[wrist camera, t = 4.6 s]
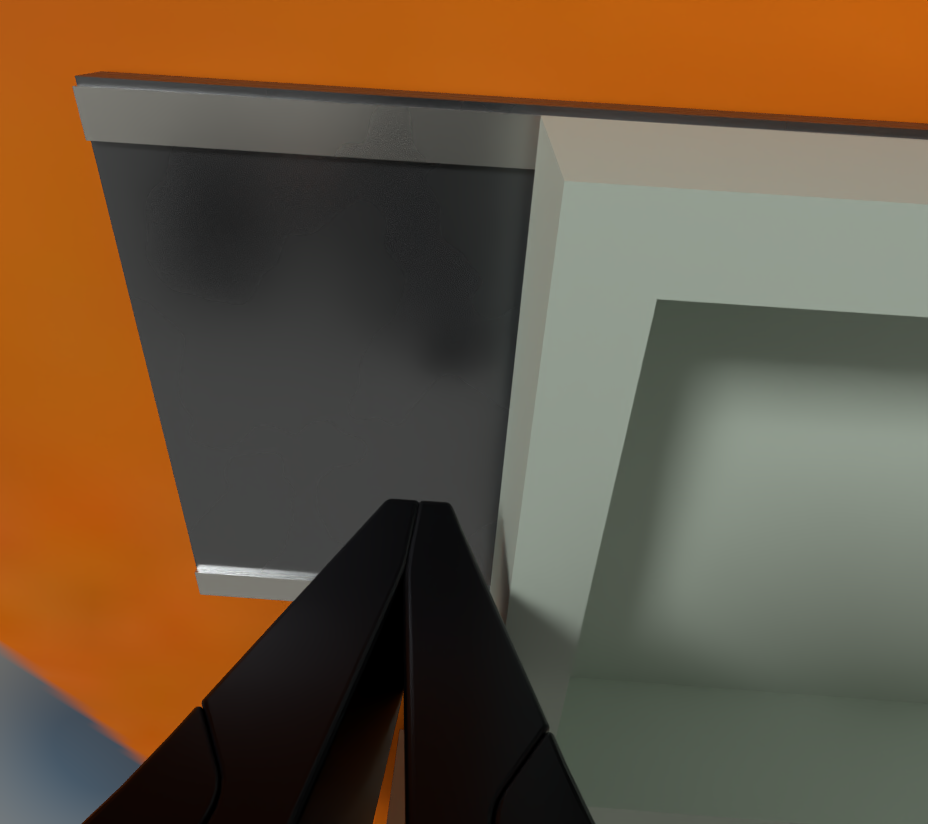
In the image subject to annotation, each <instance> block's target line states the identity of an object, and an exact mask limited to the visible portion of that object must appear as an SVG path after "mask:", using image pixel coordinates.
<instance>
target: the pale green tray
mask: <svg viewBox="0 0 928 824" xmlns="http://www.w3.org/2000/svg"><path fill="white" fill-rule="evenodd" d="M490 592H491V595H492V597H493V599H494V601H495V604H496V606H497V608H498V610H499V613H500V615H501V617H502V619H503V622H504V624H505V626H506V628H507V631H508V633H509V635H510V638H511V640H512V642H513V644H514V647H515V649H516V651H517V653H518V656H519V658H520V660H521V662H522V665H523V667H524V669H525V671H526V674H527V676H528V678H529V680H530V683H531V685H532V687H533V689H534V692H535V694H536V696H537V698H538V701H539V703H540V705H541V707H542V710H543V712H544V714H545V717H546V719H547V721H548V723H549V726H550V729H549V732H551V733H553V734H554V736H555V738H556V740H557V743H558V745H559V747H560V749H561V752H562V754H563V756H564V758H565V761H566V763H567V765H568V767H569V770H570V772H571V774H572V776H573V778H574V780H575V782H576V784H577V786H578V788H579V790H580V793H581V795H582V797H583V799H584V801H585V803H586V805H587V807H588V809H589V811H590V813H591V815H592V817H593V820H594V822H595V824H928V140H920V139H904V138H888V137H873V136H857V135H841V134H826V133H810V132H794V131H778V130H763V129H747V128H731V127H716V126H700V125H684V124H668V123H653V122H637V121H621V120H606V119H590V118H574V117H559V116H543V115H541V119H540V128H539V138H538V147H537V156H536V166H535V175H534V184H533V194H532V203H531V212H530V222H529V231H528V240H527V250H526V259H525V268H524V278H523V287H522V296H521V306H520V315H519V324H518V334H517V343H516V352H515V362H514V371H513V380H512V390H511V399H510V408H509V418H508V427H507V436H506V446H505V455H504V464H503V474H502V483H501V492H500V502H499V511H498V520H497V530H496V539H495V548H494V558H493V567H492V576H491V586H490Z"/></svg>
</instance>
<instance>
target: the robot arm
mask: <svg viewBox="0 0 928 824" xmlns="http://www.w3.org/2000/svg"><path fill="white" fill-rule="evenodd" d="M403 691H404V784H405V824H595V822H594V820H593V817H592V815H591V813H590V811H589V809H588V807H587V805H586V803H585V801H584V799H583V797H582V795H581V793H580V790H579V788H578V786H577V784H576V782H575V780H574V778H573V776H572V774H571V772H570V770H569V767H568V765H567V763H566V761H565V758H564V756H563V754H562V752H561V749H560V747H559V745H558V743H557V740H556V738H555V736H554V734H553V733H551V732H549V729H550V726H549V723H548V721H547V719H546V717H545V714H544V712H543V710H542V707H541V705H540V703H539V701H538V698H537V696H536V694H535V692H534V689H533V687H532V685H531V683H530V680H529V678H528V676H527V674H526V671H525V669H524V667H523V665H522V662H521V660H520V658H519V656H518V653H517V651H516V649H515V647H514V644H513V642H512V640H511V638H510V635H509V633H508V631H507V628H506V626H505V624H504V622H503V619H502V617H501V615H500V613H499V610H498V608H497V606H496V604H495V601H494V599H493V597H492V595H491V592H490V590H489V588H488V586H487V583H486V581H485V579H484V577H483V574H482V572H481V570H480V568H479V565H478V563H477V561H476V558H475V556H474V554H473V552H472V549H471V547H470V545H469V543H468V540H467V538H466V536H465V534H464V531H463V529H462V527H461V525H460V522H459V520H458V518H457V516H456V513H455V511H454V509H453V507H452V505H451V504H450V503H448V502H438V501H421V502H418V501H417V500H408V499H393V498H392V499H388V500H386V501H385V502H384V503H383V504H382V505H381V506H380V507H379V508H378V509H377V510H376V512H375V513H374V514H373V515H372V516H371V517H370V518H369V519H368V520H367V521H366V522H365V524H364V525H363V526H362V527H361V528H360V529H359V530H358V531H357V532H356V533H355V534H354V536H353V537H352V538H351V539H350V540H349V541H348V542H347V543H346V544H345V545H344V546H343V548H342V549H341V550H340V551H339V552H338V553H337V554H336V555H335V556H334V557H333V558H332V560H331V561H330V562H329V563H328V564H327V565H326V566H325V567H324V568H323V569H322V570H321V572H320V573H319V574H318V575H317V576H316V577H315V578H314V579H313V580H312V581H311V582H310V584H309V585H308V586H307V587H306V588H305V589H304V590H303V591H302V592H301V593H300V594H299V596H298V597H297V598H296V599H295V600H294V601H293V602H292V603H291V604H290V605H289V606H288V608H287V609H286V610H285V611H284V612H283V613H282V614H281V615H280V616H279V617H278V618H277V620H276V621H275V622H274V623H273V624H272V625H271V626H270V627H269V628H268V629H267V630H266V632H265V633H264V634H263V635H262V636H261V637H260V638H259V639H258V640H257V641H256V642H255V644H254V645H253V646H252V647H251V648H250V649H249V650H248V651H247V652H246V653H245V654H244V656H243V657H242V658H241V659H240V660H239V661H238V662H237V663H236V664H235V665H234V666H233V668H232V669H231V670H230V671H229V672H228V673H227V674H226V675H225V676H224V677H223V678H222V680H221V681H220V682H219V683H218V684H217V685H216V686H215V687H214V688H213V689H212V690H211V692H210V693H209V694H208V695H207V696H206V697H205V698H204V699H203V701H202V707H203V709H202V707H196V708H194V709H193V711H192V712H191V713H190V714H189V715H188V716H187V717H186V718H185V719H184V720H183V722H182V723H181V724H180V725H179V726H178V727H177V728H176V729H175V730H174V731H173V733H172V734H171V735H170V736H169V737H168V738H167V739H166V740H165V741H164V742H163V743H162V744H161V745H160V746H159V747H158V748H157V749H156V750H155V751H154V753H153V754H152V755H151V756H150V757H149V758H148V759H147V760H146V761H145V762H144V763H143V764H142V765H141V766H140V767H139V768H138V769H137V770H136V771H135V772H134V773H133V774H132V775H131V776H130V778H129V779H128V780H127V781H126V782H125V783H124V784H123V785H122V786H121V787H120V788H119V789H118V790H116V791H115V792H114V793H113V794H112V795H111V796H110V797H109V798H108V799H107V800H106V801H105V802H104V803H103V804H102V805H101V806H100V807H99V808H98V809H97V810H95V811H94V812H93V813H92V814H91V815H90V816H89V817H88V818H87V819H86V820H85V821H84V822H83V823H82V824H373V819H374V815H375V811H376V807H377V802H378V798H379V794H380V790H381V785H382V781H383V777H384V773H385V768H386V764H387V760H388V756H389V751H390V747H391V743H392V739H393V734H394V730H395V726H396V722H397V717H398V713H399V709H400V705H401V700H402V696H403Z"/></svg>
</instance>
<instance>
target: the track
mask: <svg viewBox="0 0 928 824" xmlns="http://www.w3.org/2000/svg"><path fill="white" fill-rule="evenodd" d="M75 78H76V82H77V85H76V86H73V90H74V94H75V98H76V102H77V106H78V110H79V114H80V118H81V122H82V126H83V130H84V134H85V138H86V140H88V141H91V143H92V147H93V151H94V155H95V159H96V163H97V167H98V171H99V175H100V179H101V183H102V187H103V191H104V195H105V199H106V203H107V207H108V211H109V215H110V220H111V224H112V228H113V232H114V236H115V240H116V244H117V248H118V252H119V256H120V260H121V264H122V268H123V272H124V276H125V280H126V284H127V288H128V292H129V296H130V300H131V304H132V308H133V312H134V316H135V320H136V324H137V328H138V332H139V336H140V341H141V345H142V349H143V353H144V357H145V361H146V365H147V369H148V373H149V377H150V381H151V385H152V389H153V393H154V397H155V401H156V405H157V409H158V413H159V417H160V421H161V425H162V429H163V433H164V437H165V441H166V445H167V449H168V453H169V457H170V461H171V466H172V470H173V474H174V478H175V482H176V486H177V490H178V494H179V498H180V502H181V506H182V510H183V514H184V518H185V522H186V526H187V530H188V534H189V538H190V542H191V546H192V550H193V554H194V558H195V562H196V566H197V569H196V571H195V575H196V579H197V583H198V587H199V591H200V594H203V595H217V596H231V597H244V598H258V599H271V600H285V601H294V600H295V599H296V598H297V597H298V596H299V594H300V593H301V592H302V591H303V590H304V589H305V588H306V587H307V586H308V585H309V584H310V582H311V581H312V580H313V579H314V578H315V577H316V576H317V575H318V574H319V573H320V572H321V570H322V569H323V568H324V567H325V566H326V565H327V564H328V563H329V562H330V561H331V560H332V558H333V557H334V556H335V555H336V554H337V553H338V552H339V551H340V550H341V549H342V548H343V546H344V545H345V544H346V543H347V542H348V541H349V540H350V539H351V538H352V537H353V536H354V534H355V533H356V532H357V531H358V530H359V529H360V528H361V527H362V526H363V525H364V524H365V522H366V521H367V520H368V519H369V518H370V517H371V516H372V515H373V514H374V513H375V512H376V510H377V509H378V508H379V507H380V506H381V505H382V504H383V503H384V502H385V501H386V500H388V499H392V498H393V499H408V500H417V501H418V502H421V501H438V502H448V503H450V504H451V505H452V507H453V509H454V511H455V513H456V516H457V518H458V520H459V522H460V525H461V527H462V529H463V531H464V534H465V536H466V538H467V540H468V543H469V545H470V547H471V549H472V552H473V554H474V556H475V558H476V561H477V563H478V565H479V568H480V570H481V572H482V574H483V577H484V579H485V581H486V583H487V586H488V588H489V590H490V586H491V576H492V567H493V558H494V548H495V539H496V530H497V520H498V511H499V502H500V492H501V483H502V474H503V464H504V455H505V446H506V436H507V427H508V418H509V408H510V399H511V390H512V380H513V371H514V362H515V352H516V343H517V334H518V324H519V315H520V306H521V296H522V287H523V278H524V268H525V259H526V250H527V240H528V231H529V222H530V212H531V203H532V194H533V184H534V175H535V166H536V156H537V147H538V138H539V128H540V119H541V115H543V116H559V117H574V118H590V119H606V120H621V121H637V122H653V123H668V124H684V125H700V126H716V127H731V128H747V129H763V130H778V131H794V132H810V133H826V134H841V135H857V136H873V137H888V138H904V139H920V140H928V124H924V123H908V122H892V121H876V120H861V119H845V118H829V117H813V116H797V115H782V114H766V113H750V112H734V111H719V110H703V109H687V108H671V107H655V106H640V105H624V104H608V103H592V102H576V101H561V100H545V99H529V98H513V97H498V96H482V95H466V94H450V93H434V92H419V91H403V90H387V89H371V88H355V87H340V86H324V85H308V84H292V83H277V82H261V81H245V80H229V79H213V78H198V77H182V76H166V75H150V74H135V73H119V72H103V71H101V72H95V73H89V74H83V75H78V76H75Z"/></svg>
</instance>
